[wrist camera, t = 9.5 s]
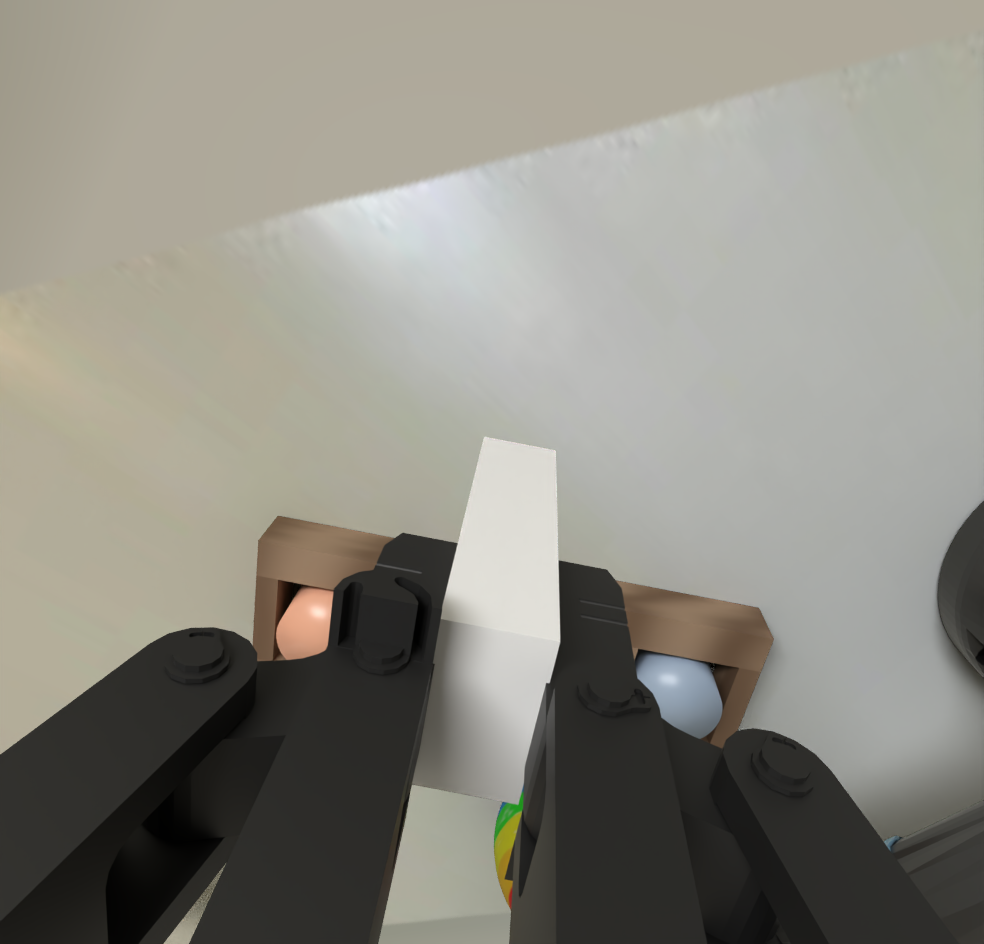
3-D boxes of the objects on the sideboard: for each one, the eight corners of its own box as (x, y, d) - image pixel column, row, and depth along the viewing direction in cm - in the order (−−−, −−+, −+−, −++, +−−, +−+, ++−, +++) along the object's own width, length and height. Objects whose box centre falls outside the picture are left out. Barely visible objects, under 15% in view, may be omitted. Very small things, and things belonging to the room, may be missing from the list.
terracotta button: (381, 577, 42) (366, 613, 39) (372, 644, 44) (357, 684, 40) (300, 562, 42) (278, 596, 39) (295, 629, 44) (273, 668, 40)
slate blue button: (718, 642, 42) (733, 683, 39) (695, 706, 44) (707, 751, 40) (637, 626, 42) (645, 666, 39) (618, 691, 44) (623, 735, 40)
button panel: (758, 608, 41) (773, 639, 38) (708, 740, 45) (718, 777, 42) (277, 515, 41) (258, 540, 38) (268, 656, 45) (250, 688, 42)
